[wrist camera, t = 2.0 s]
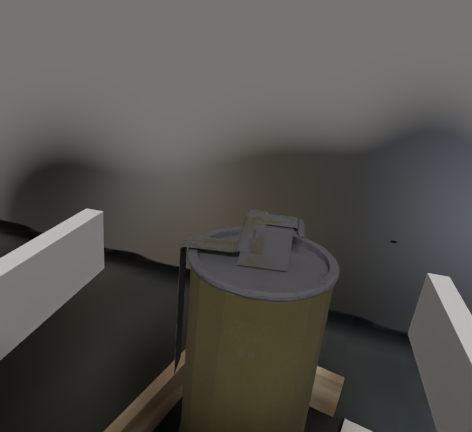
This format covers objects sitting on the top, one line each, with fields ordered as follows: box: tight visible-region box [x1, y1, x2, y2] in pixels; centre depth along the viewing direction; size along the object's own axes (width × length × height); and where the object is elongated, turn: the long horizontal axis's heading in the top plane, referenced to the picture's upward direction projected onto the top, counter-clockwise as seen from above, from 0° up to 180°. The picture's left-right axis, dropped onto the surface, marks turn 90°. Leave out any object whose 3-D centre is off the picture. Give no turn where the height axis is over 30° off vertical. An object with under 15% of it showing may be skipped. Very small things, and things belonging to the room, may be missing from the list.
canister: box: [174, 209, 339, 432], centre depth 30 cm, size 11×10×20 cm
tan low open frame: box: [104, 349, 345, 432], centre depth 33 cm, size 14×16×4 cm
